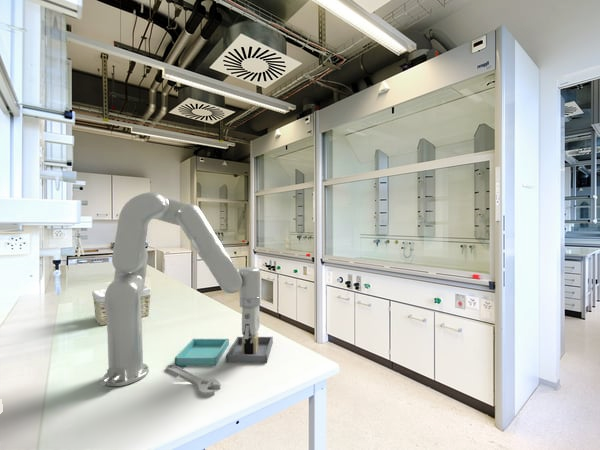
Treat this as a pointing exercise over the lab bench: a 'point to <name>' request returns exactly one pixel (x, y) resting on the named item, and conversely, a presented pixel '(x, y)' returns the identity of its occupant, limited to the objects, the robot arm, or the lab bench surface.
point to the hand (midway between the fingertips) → (250, 349)
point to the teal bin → (202, 352)
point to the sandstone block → (255, 344)
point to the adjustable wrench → (196, 380)
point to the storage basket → (101, 310)
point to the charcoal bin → (260, 357)
